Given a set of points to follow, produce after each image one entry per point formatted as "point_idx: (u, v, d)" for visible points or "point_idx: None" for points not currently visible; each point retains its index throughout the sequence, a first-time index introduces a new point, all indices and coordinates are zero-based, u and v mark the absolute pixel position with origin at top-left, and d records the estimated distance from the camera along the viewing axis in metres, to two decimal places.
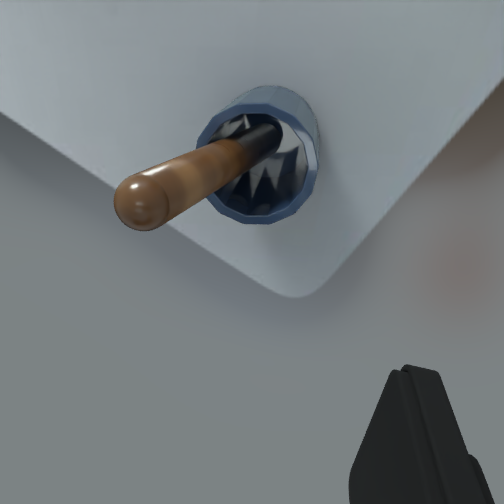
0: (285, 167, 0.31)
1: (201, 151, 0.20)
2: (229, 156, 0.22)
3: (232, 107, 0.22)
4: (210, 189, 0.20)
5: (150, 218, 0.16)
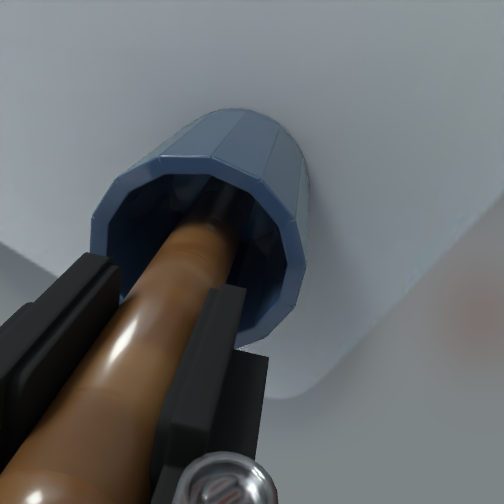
0: (259, 229, 0.20)
1: (165, 289, 0.10)
2: (211, 276, 0.11)
3: (148, 162, 0.12)
4: None
5: None
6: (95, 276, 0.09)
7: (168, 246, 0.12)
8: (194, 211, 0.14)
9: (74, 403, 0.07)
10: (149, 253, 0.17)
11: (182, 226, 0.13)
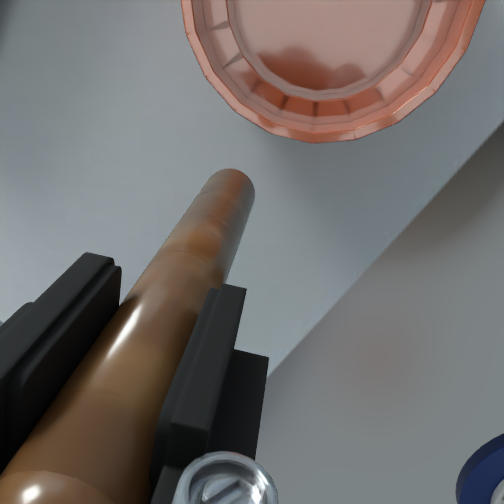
0: None
1: (164, 290, 0.10)
2: (211, 277, 0.11)
3: None
4: None
5: None
6: (95, 276, 0.09)
7: (167, 247, 0.12)
8: (193, 211, 0.14)
9: (74, 404, 0.07)
10: None
11: (181, 227, 0.13)
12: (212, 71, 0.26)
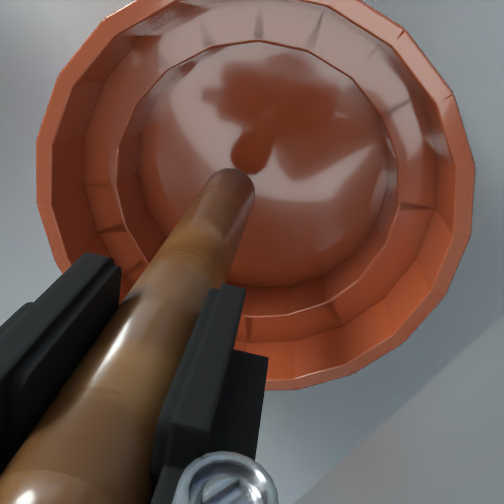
0: None
1: (165, 289, 0.10)
2: (211, 276, 0.11)
3: None
4: None
5: None
6: (95, 276, 0.09)
7: (168, 246, 0.12)
8: (194, 211, 0.14)
9: (74, 403, 0.07)
10: None
11: (182, 226, 0.13)
12: None
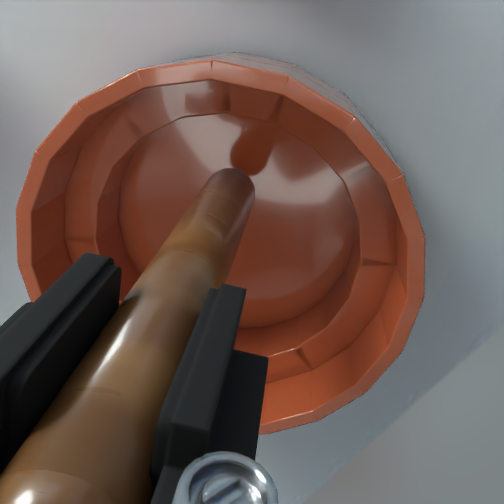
0: None
1: (165, 289, 0.10)
2: (211, 276, 0.11)
3: None
4: None
5: None
6: (95, 276, 0.09)
7: (168, 246, 0.12)
8: (194, 211, 0.14)
9: (74, 403, 0.07)
10: None
11: (182, 226, 0.13)
12: None
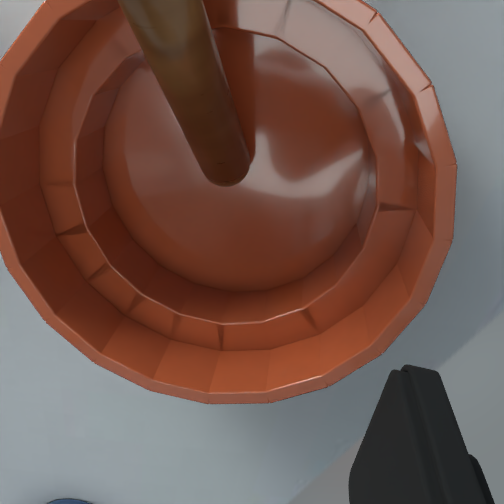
0: None
1: None
2: None
3: None
4: None
5: None
6: None
7: None
8: None
9: None
10: None
11: None
12: (53, 313, 0.18)
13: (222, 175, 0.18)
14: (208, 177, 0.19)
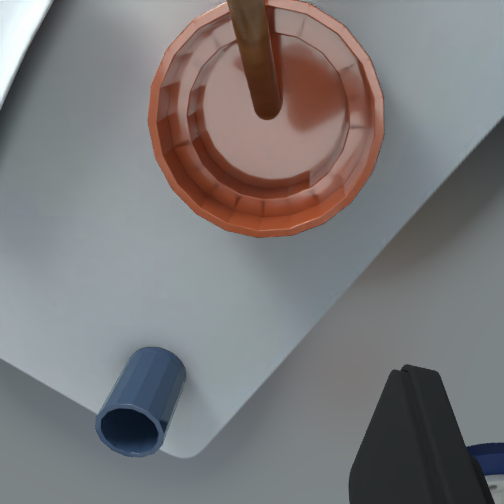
0: None
1: None
2: None
3: (113, 405, 0.40)
4: None
5: None
6: None
7: None
8: None
9: None
10: (117, 415, 0.44)
11: None
12: (176, 184, 0.34)
13: (267, 111, 0.34)
14: (258, 113, 0.34)
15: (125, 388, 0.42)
